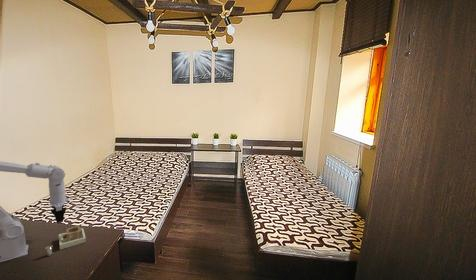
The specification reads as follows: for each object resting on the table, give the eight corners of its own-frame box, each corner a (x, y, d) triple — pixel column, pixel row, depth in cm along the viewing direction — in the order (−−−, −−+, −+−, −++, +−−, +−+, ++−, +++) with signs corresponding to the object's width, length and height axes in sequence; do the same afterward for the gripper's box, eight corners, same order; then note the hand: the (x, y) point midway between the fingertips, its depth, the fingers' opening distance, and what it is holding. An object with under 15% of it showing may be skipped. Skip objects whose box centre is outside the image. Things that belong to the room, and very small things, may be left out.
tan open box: (63, 245, 106) (62, 235, 105) (63, 239, 110) (62, 229, 110) (81, 240, 111) (80, 230, 110) (80, 234, 115) (79, 225, 114)
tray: (60, 250, 104) (59, 245, 103) (59, 239, 111) (58, 234, 111) (86, 242, 110) (85, 237, 110) (83, 232, 117) (83, 228, 117)
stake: (46, 257, 99) (45, 248, 98) (46, 255, 100) (45, 246, 100) (53, 255, 101) (52, 246, 100) (53, 253, 102) (52, 244, 101)
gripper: (68, 195, 106) (71, 222, 108) (66, 185, 117) (68, 210, 119) (49, 199, 101) (51, 227, 104) (48, 188, 112) (51, 214, 115)
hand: (59, 218), depth 111 cm, fingers open, 7 cm apart
